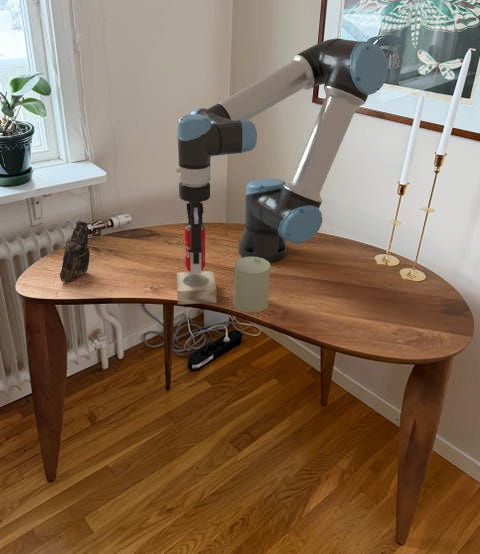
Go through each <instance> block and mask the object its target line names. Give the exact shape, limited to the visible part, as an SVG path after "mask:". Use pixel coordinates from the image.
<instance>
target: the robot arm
mask: <svg viewBox="0 0 480 554" xmlns="http://www.w3.org/2000/svg"><path fill="white" fill-rule="evenodd" d="M388 65H389V64H388V61H387V56H386V53H385V51H384V50H383V49H382V47H380V46H379V45H377V44H374V43H370V42H368V41H362V40H361V41H358V40H349V39H343V38H330V39H327V40H324V41H323V40H322V42H319V43H317V44H315V45H312V46H311V47H308V48H306V49H305V50H303V51H301V52H299V53H297V54H296V55H294V56H293V57H292V58H291V61H290V62H289V63H288V64H286V65H284V66H282V67H281V68H278V69H277V70H275V71H273V72H271V73H270V74H268V75H265V76H264V77H263V78H261V79H259V80H257V81H255V82H254V83H252V84H249V85H248V86H247V87H245V88H243V89H241V90H240V91H238V92H236V93H234V94H233V95H231V96H228V97H227V98H225V99H223V100H221V101H219V102H218V103H216V104H214V105H212V106H211V107H209V108H205V107H203V108H202V107H200V108H199V107H198V108H195V109H193V110H192V111H191V113H190V114H189V113H188V114H184V115H181V117H179V119H178V122H177V134H176V137H177V138H176V139H177V150H178V152H177V153H178V154H177V155H178V168H176V170H175V172H176V173H178V180H179V183H178V195H179V198H180V199H181V200H182V201H184V202H186V212H187V213H186V214H187V219H188V223H187V224H189V225H191V249H188V252H190V259H191V274H201V272H202V271H201V252H202V249H201V225H202V224H204V223H203V222H204V221H203V214H204V205H203V202H206V201H208V200H209V199H210V198H211V183H210V182H211V179H212V177H211V173H212V171H211V168H212V167H211V166H212V165H211V158H212V157H217V156H225V155H233V154H242V153H248V152H251V151H253V150H254V149H255V148H256V146H257V142H258V133H257V128H256V126H255V124H254V122H252V121H251V119H252V118H254V117H255V116H257V115H260V114H262V113H263V112H265V111H267V110H268V109H270V108H272V107H273V106H275V105H278V103H280V102H282V101H284V100H286V99H287V98H289V97H292V95H294V94H296V93H298V92H300V91H302V90H303V89H304V90H306V91H307V90H312V89H313V88H315V87H316V86H320V85H321V86H322V85H324V86H323V90H324V93H325V98H324V100H323V103H322V104H321V105H322V106H321V107H320V109H319V113H318V115H317V118H316V120H315V122H314V125H313V127H312V130H311V131H310V134H309V137H308V139H307V142H306V144H305V146H304V149H303V151H302V154H301V157H300V158H299V160H298V164H297V165H296V168H295V170H294V173H293V175H292V178H291V180H290V181H289V182H287V183H286V181H284V180H283V179H279V178H278V179H277V178H260V179H259V178H258V179H254V180H251V181H249V182H248V184H247V185H246V190H245V208H244V209H245V210H244V212H245V213H244V214H245V216H244V230H243V232H242V234H241V236H240V240H239V242H238V254H239V255H240V256H241V258H244V257H259V258H263V259H265V260H267V261H268V262H269V263H273V262H278V261H280V260H283V259H284V258H285V257H286V256H287V253H288V252H287V251H288V246H287V241H288V242H289V243H292V244H304V243H306V242H307V241H310V240H312V239H313V237H315V236H316V235H317V233H318V232H319V231H320V229H321V227H322V224H323V214H322V212H321V210H320V207H321V205H322V203H323V200H322V196H321V190H323V187H324V185H325V181H326V179H327V177H328V175H329V172H330V171H331V168H332V166H333V163H334V161H335V160H336V156H337V155H338V152H339V149H340V148H341V146H342V142H343V140H344V139H345V136H346V133H347V132H348V129H349V126H350V124H351V122H352V119H353V117H354V115H355V112H356V111H357V109H358V108H360V107H361V106H363V105H365V104H366V102H367V99H368V97H369V95H373V94H376V93H377V91H380V90H381V89H382V87H383V86H384V84H385V82H386V79H387V76H388V71H389V70H388V68H389V67H388Z"/></svg>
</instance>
